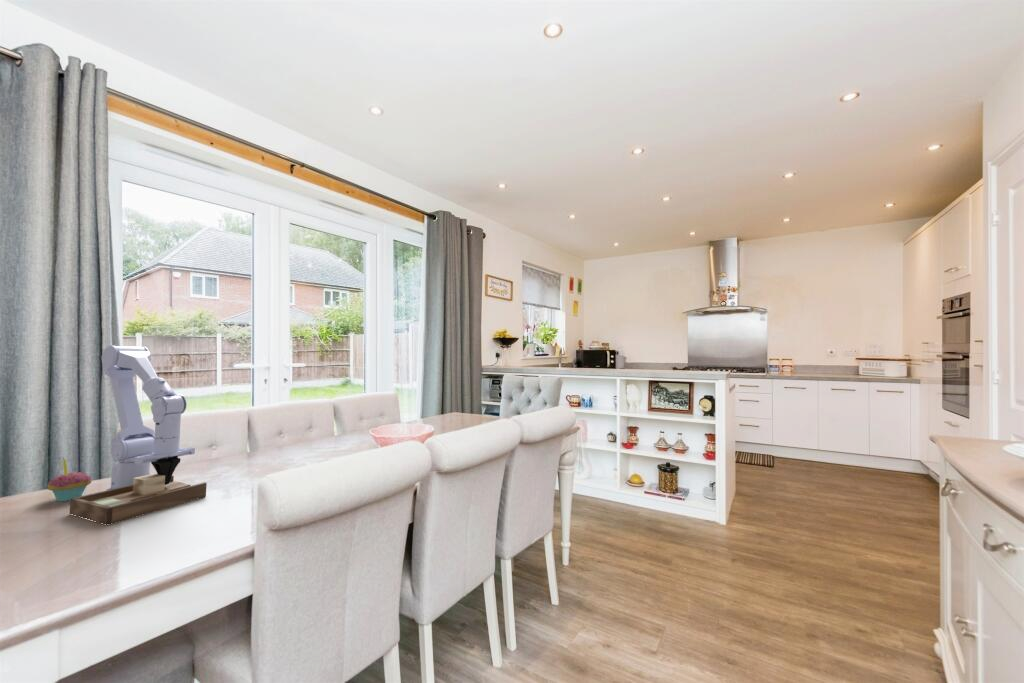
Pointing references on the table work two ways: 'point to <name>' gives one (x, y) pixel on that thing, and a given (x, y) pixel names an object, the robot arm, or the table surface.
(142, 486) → the birch block
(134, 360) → the robot arm
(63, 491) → the cupcake
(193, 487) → the trap track
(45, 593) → the table surface
